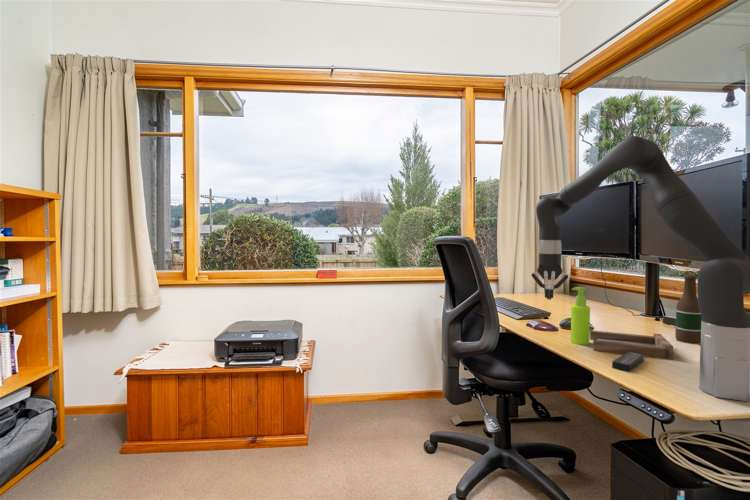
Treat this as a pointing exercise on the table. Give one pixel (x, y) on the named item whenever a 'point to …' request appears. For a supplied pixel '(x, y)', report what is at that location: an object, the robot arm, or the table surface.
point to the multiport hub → (628, 361)
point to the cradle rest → (632, 344)
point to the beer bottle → (688, 314)
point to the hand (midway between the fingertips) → (549, 299)
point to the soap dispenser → (580, 319)
